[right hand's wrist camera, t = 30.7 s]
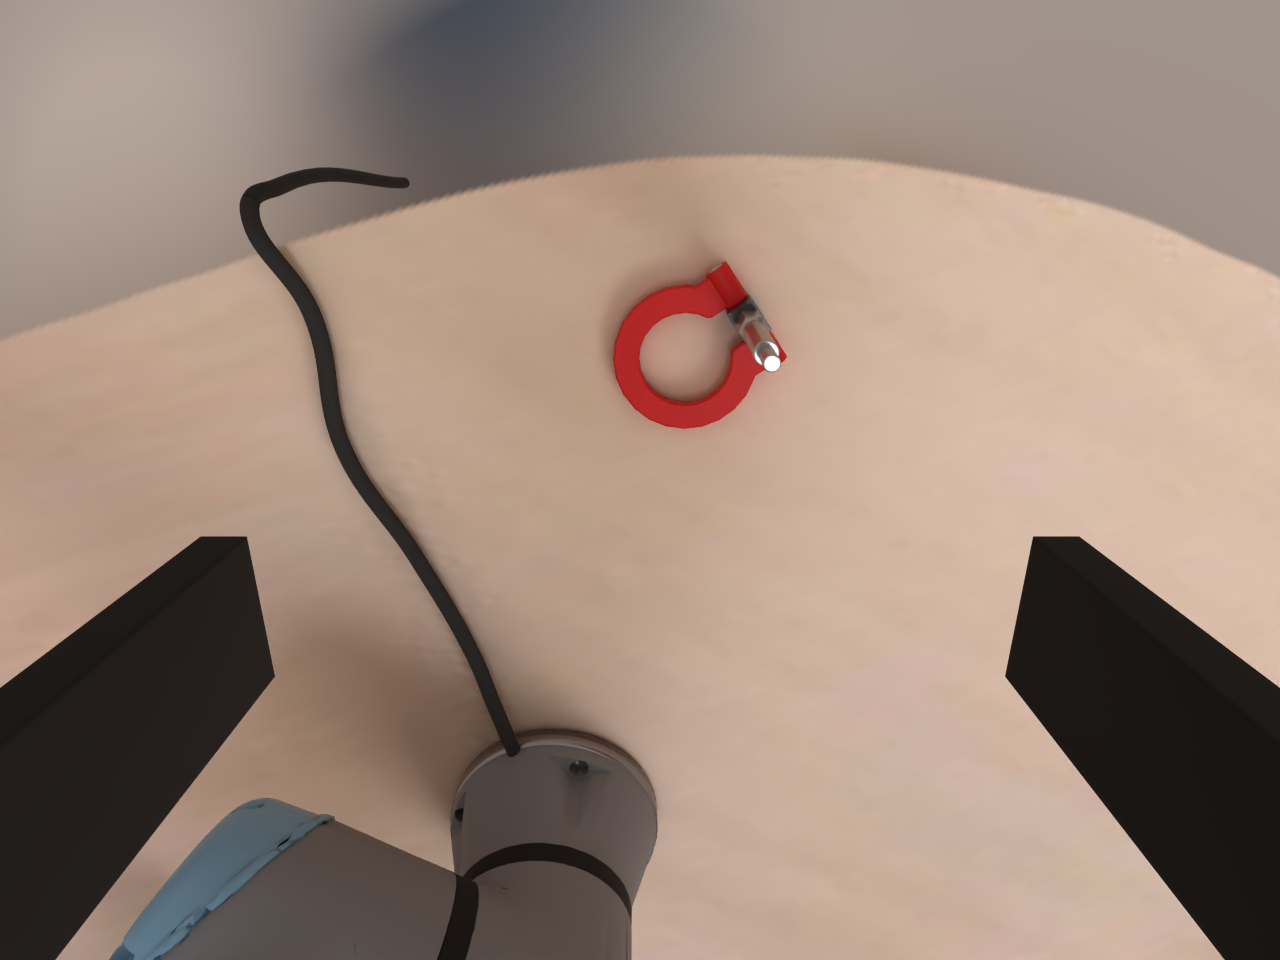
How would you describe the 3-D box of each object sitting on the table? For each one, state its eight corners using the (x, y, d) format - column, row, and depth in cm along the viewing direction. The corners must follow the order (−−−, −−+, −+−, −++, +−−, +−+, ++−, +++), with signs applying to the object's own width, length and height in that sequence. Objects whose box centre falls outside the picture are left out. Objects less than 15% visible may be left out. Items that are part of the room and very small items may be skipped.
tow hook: (666, 448, 47) (794, 365, 45) (664, 538, 35) (838, 431, 33) (587, 338, 44) (717, 245, 42) (554, 394, 32) (734, 268, 30)
